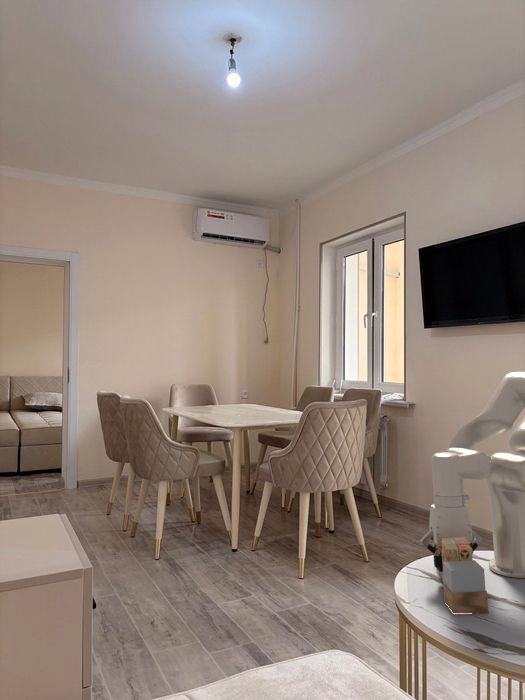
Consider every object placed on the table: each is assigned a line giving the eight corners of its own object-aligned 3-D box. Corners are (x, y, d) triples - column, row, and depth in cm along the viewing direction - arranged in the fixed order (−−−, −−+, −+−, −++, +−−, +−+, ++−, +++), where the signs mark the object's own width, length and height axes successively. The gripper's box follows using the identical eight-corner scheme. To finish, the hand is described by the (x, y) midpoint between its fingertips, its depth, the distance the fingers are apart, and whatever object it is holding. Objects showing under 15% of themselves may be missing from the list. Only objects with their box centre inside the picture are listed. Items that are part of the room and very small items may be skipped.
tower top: (475, 581, 126) (474, 560, 126) (485, 591, 121) (484, 569, 121) (444, 582, 126) (442, 561, 126) (452, 592, 121) (451, 570, 121)
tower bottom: (477, 602, 126) (476, 581, 126) (488, 613, 120) (487, 591, 120) (444, 603, 126) (443, 582, 126) (453, 615, 120) (452, 593, 120)
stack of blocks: (435, 565, 150) (432, 521, 150) (458, 565, 149) (455, 521, 149) (448, 598, 129) (445, 547, 129) (475, 599, 127) (472, 547, 128)
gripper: (476, 495, 142) (480, 562, 142) (411, 498, 142) (416, 565, 142) (487, 502, 135) (492, 573, 134) (420, 506, 135) (424, 576, 134)
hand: (453, 568), depth 138 cm, fingers closed on stack of blocks, 6 cm apart
